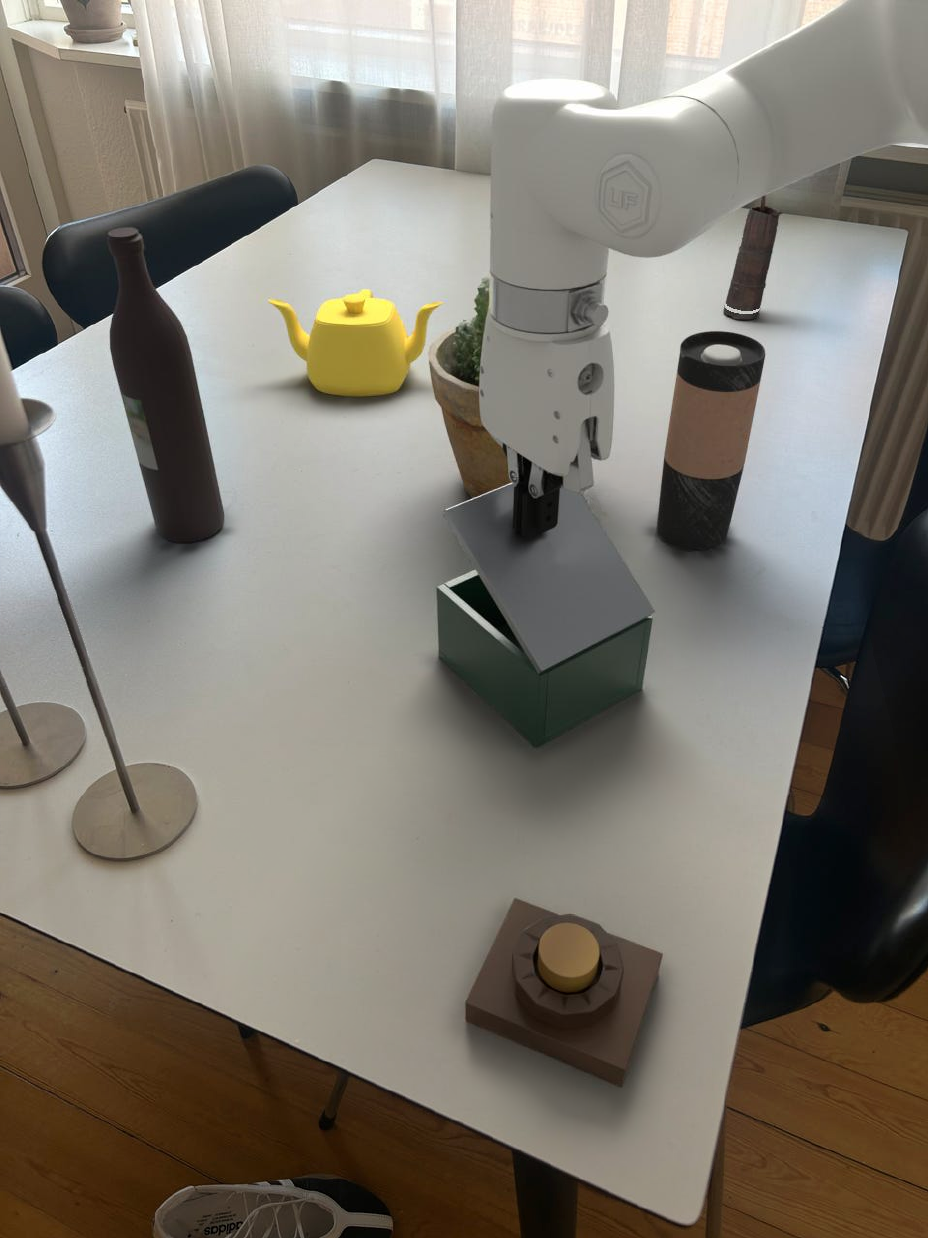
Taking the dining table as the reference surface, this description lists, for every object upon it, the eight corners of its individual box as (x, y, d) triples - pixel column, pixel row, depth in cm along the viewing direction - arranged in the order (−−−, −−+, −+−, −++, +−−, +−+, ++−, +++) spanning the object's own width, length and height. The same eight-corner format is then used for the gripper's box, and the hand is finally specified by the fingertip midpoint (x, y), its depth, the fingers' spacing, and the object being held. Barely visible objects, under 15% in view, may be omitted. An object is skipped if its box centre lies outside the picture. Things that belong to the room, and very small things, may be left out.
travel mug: (744, 532, 99) (784, 347, 86) (699, 563, 95) (734, 374, 82) (683, 502, 103) (712, 322, 90) (638, 531, 99) (662, 347, 86)
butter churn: (794, 322, 139) (841, 107, 121) (738, 332, 137) (777, 114, 119) (757, 299, 146) (796, 92, 128) (703, 308, 143) (735, 99, 125)
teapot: (449, 349, 133) (447, 270, 127) (440, 401, 122) (437, 318, 115) (292, 346, 135) (282, 268, 128) (268, 397, 123) (255, 315, 116)
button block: (659, 972, 62) (666, 937, 59) (622, 1088, 56) (628, 1055, 54) (513, 916, 65) (515, 881, 62) (465, 1021, 59) (464, 987, 57)
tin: (438, 656, 85) (435, 586, 80) (540, 606, 90) (544, 538, 85) (535, 749, 76) (539, 677, 71) (642, 688, 82) (653, 617, 77)
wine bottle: (175, 503, 104) (105, 216, 85) (236, 510, 103) (179, 221, 84) (144, 540, 99) (63, 243, 80) (208, 548, 98) (141, 248, 78)
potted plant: (538, 553, 97) (550, 311, 81) (396, 494, 105) (381, 265, 89) (629, 475, 108) (655, 248, 92) (494, 427, 116) (496, 213, 100)
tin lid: (441, 514, 74) (444, 509, 73) (557, 467, 79) (561, 462, 79) (538, 674, 72) (542, 671, 71) (651, 615, 77) (656, 611, 76)
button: (605, 951, 59) (607, 935, 58) (586, 1002, 56) (588, 987, 55) (549, 930, 60) (551, 914, 59) (528, 979, 58) (529, 963, 56)
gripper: (669, 320, 60) (637, 557, 72) (520, 252, 69) (513, 472, 81) (578, 351, 57) (560, 595, 69) (434, 275, 66) (440, 501, 78)
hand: (535, 528), depth 75 cm, fingers closed
